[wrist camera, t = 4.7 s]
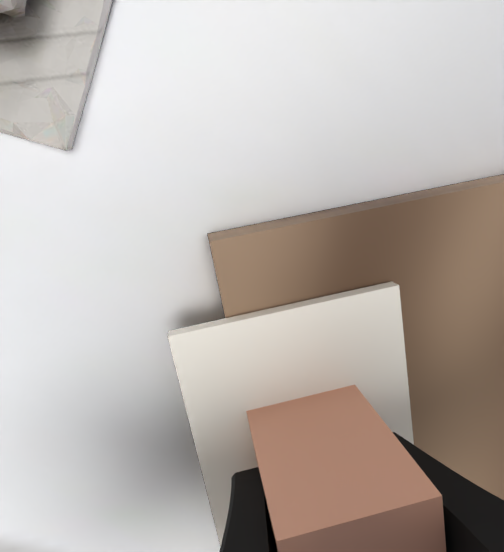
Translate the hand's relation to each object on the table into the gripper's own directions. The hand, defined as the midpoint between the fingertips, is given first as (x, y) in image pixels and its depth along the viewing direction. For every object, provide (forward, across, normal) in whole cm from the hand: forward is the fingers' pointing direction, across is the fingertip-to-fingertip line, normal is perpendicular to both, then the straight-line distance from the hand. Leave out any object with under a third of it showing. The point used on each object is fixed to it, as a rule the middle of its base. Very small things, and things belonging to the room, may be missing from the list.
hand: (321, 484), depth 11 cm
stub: (+1, 0, 0) cm, 1 cm away
